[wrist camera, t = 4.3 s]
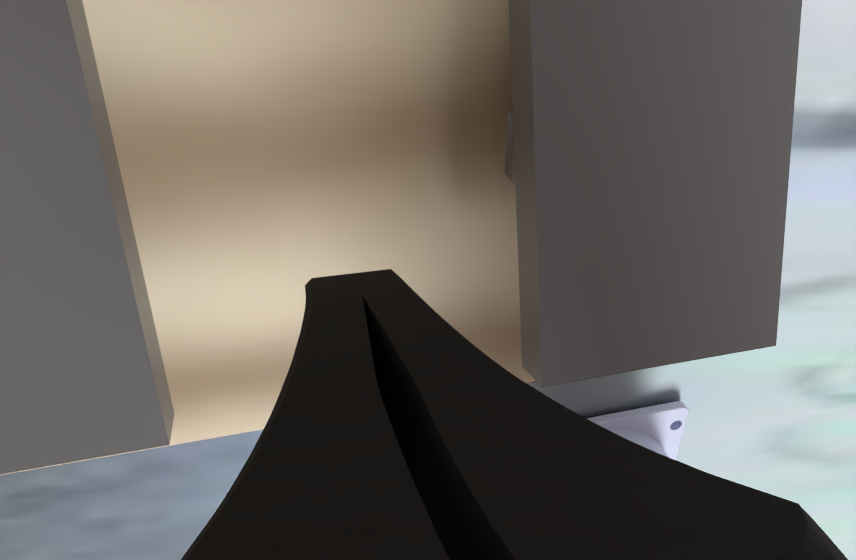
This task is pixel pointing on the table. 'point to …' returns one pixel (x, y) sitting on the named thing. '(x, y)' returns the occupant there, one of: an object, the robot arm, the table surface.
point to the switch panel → (307, 176)
